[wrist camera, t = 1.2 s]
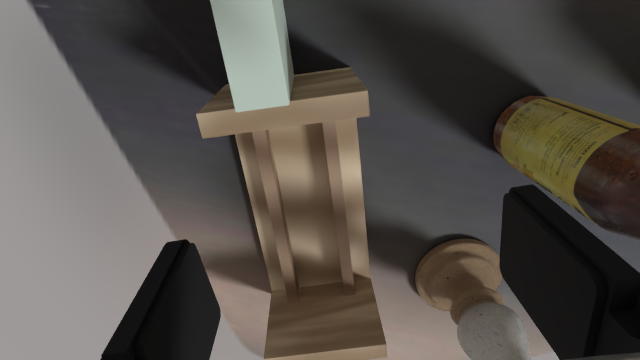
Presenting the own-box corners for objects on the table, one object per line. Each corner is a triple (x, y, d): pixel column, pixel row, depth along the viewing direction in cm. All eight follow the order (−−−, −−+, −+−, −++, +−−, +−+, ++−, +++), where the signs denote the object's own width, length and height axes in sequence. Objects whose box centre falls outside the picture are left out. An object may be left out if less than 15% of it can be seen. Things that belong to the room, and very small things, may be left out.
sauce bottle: (486, 165, 34) (699, 350, 16) (492, 96, 31) (757, 222, 13) (559, 156, 33) (858, 331, 15) (571, 86, 31) (949, 199, 13)
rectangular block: (220, -68, 25) (173, -107, 16) (271, -75, 25) (252, -119, 16) (250, 80, 30) (226, 113, 21) (294, 74, 30) (289, 105, 21)
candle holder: (509, 283, 40) (687, 524, 21) (433, 316, 41) (537, 567, 23) (482, 222, 36) (664, 447, 18) (400, 261, 38) (490, 503, 19)
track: (225, 84, 30) (195, 114, 22) (350, 67, 29) (367, 90, 21) (275, 295, 39) (267, 371, 31) (369, 283, 39) (387, 357, 31)
